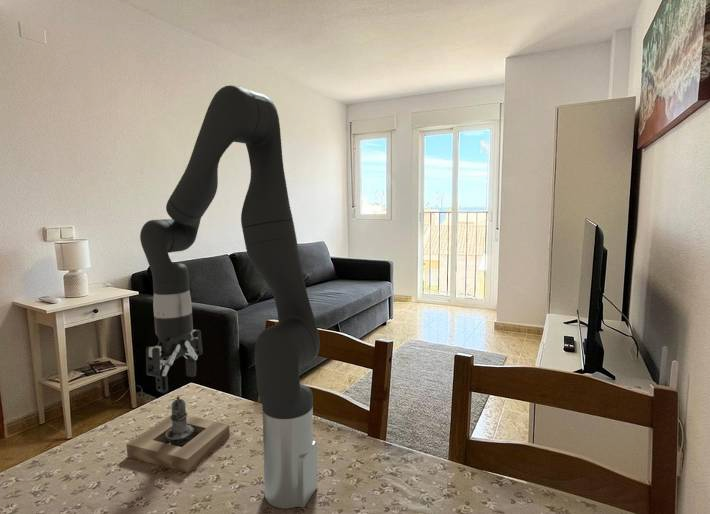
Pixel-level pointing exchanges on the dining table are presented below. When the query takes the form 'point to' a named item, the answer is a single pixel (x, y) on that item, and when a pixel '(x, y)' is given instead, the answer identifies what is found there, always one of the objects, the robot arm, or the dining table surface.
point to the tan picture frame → (179, 458)
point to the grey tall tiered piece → (179, 425)
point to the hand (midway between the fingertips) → (177, 383)
